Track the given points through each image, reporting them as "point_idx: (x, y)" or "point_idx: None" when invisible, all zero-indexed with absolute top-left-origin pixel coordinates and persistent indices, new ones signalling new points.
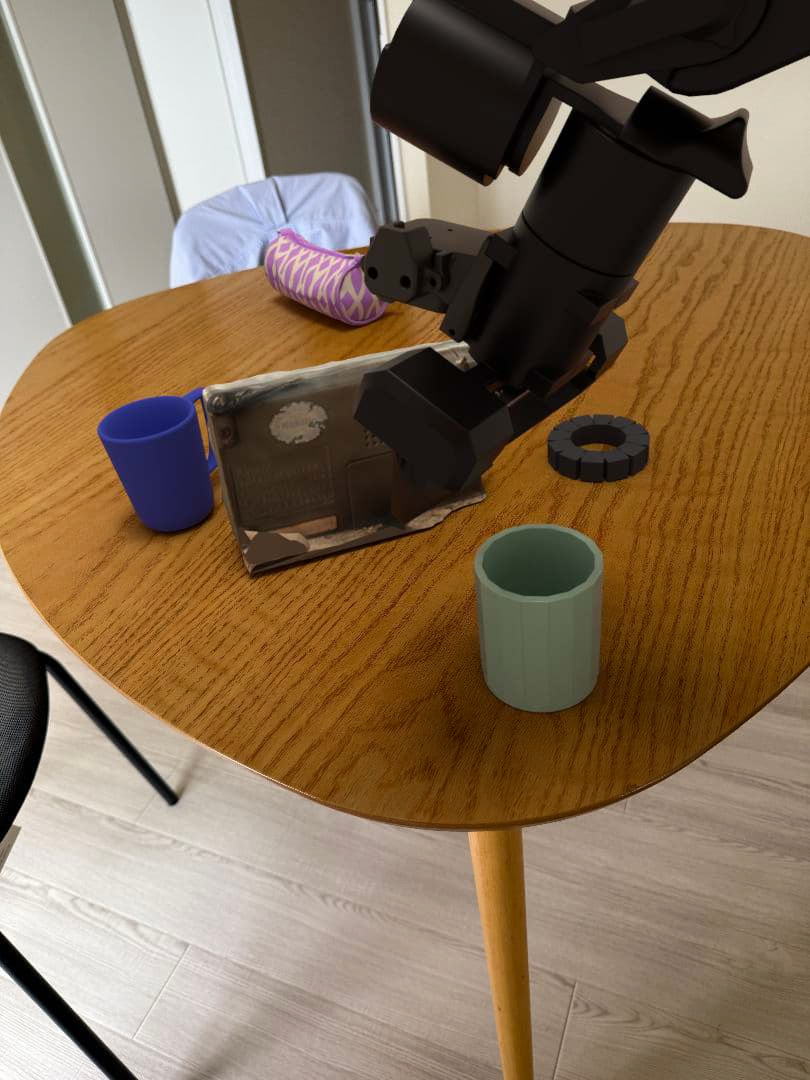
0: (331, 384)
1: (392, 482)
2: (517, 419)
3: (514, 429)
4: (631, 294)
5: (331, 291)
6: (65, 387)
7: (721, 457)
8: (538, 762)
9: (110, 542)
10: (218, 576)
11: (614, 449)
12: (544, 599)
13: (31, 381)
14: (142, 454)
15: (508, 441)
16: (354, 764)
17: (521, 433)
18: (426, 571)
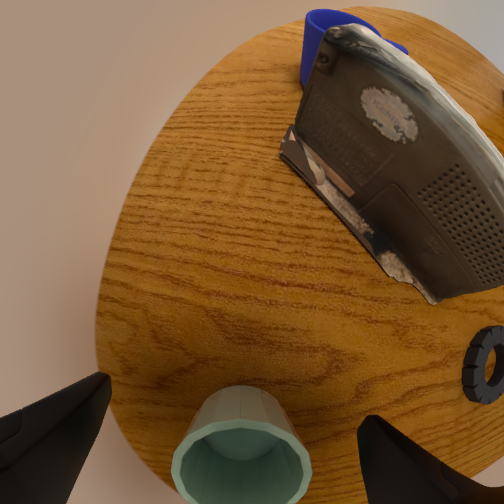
0: (444, 126)
1: (44, 398)
2: (383, 500)
3: (373, 490)
4: None
5: None
6: (389, 18)
7: (483, 438)
8: (158, 436)
9: (282, 65)
10: (273, 133)
11: (486, 385)
12: (181, 490)
13: (382, 8)
14: (312, 35)
15: (363, 475)
16: (119, 320)
17: (367, 497)
18: (334, 295)
